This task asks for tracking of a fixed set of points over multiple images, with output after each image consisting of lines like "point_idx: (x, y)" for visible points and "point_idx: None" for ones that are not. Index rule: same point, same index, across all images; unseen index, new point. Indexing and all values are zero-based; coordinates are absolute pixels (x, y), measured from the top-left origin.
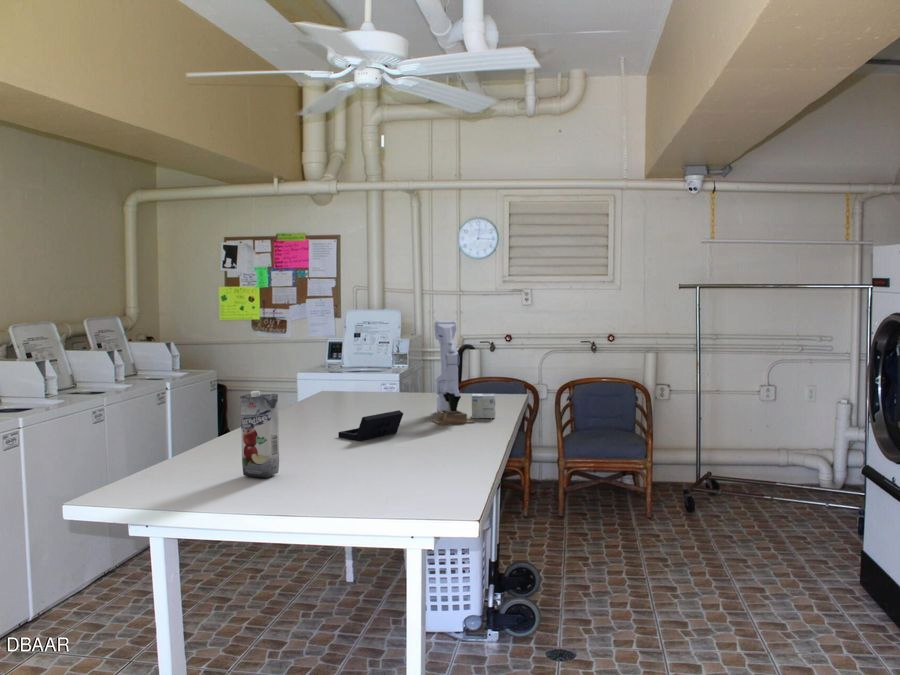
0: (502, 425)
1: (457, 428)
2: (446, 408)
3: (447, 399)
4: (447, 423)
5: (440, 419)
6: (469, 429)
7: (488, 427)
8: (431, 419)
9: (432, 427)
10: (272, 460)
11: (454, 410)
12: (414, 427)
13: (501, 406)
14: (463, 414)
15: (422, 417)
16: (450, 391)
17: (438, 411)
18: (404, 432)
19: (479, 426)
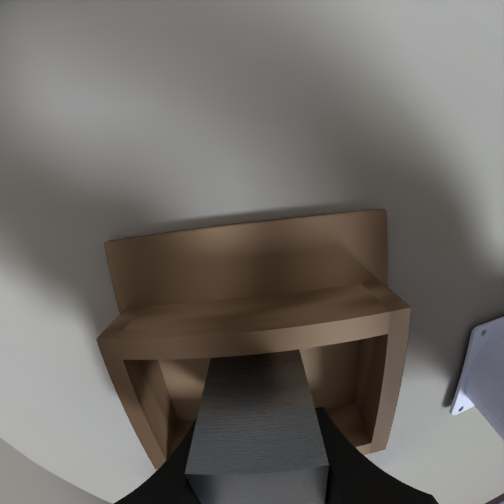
0: (108, 490)
1: (20, 318)
2: (266, 403)
3: (337, 496)
4: (118, 304)
5: (307, 291)
6: (8, 361)
7: (60, 443)
8: (356, 216)
9: (54, 166)
10: None
11: None
12: (95, 41)
13: (473, 497)
14: (148, 451)
15: (492, 190)
16: None
17: (385, 310)
18: (8, 19)
19: (77, 430)
